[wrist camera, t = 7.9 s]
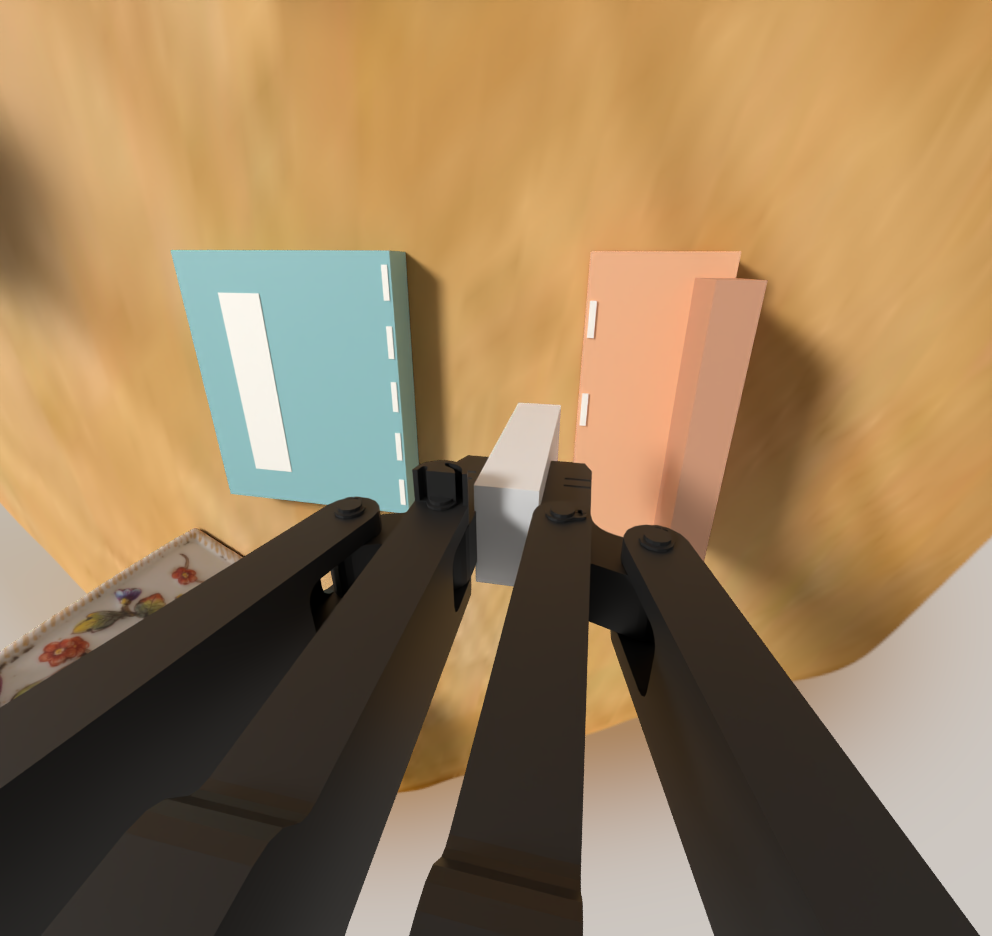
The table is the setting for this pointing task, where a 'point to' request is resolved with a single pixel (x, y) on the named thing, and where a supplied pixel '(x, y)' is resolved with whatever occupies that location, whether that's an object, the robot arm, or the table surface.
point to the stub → (662, 385)
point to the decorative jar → (110, 610)
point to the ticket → (306, 370)
